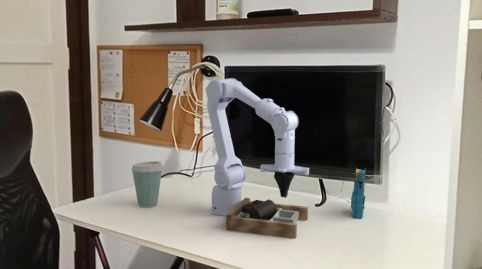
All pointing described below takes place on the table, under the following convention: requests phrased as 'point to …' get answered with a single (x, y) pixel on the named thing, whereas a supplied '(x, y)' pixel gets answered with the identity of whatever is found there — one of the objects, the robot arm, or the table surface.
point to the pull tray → (280, 216)
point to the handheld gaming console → (358, 195)
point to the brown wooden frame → (264, 221)
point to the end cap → (260, 210)
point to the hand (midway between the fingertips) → (284, 196)
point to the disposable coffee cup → (147, 182)
